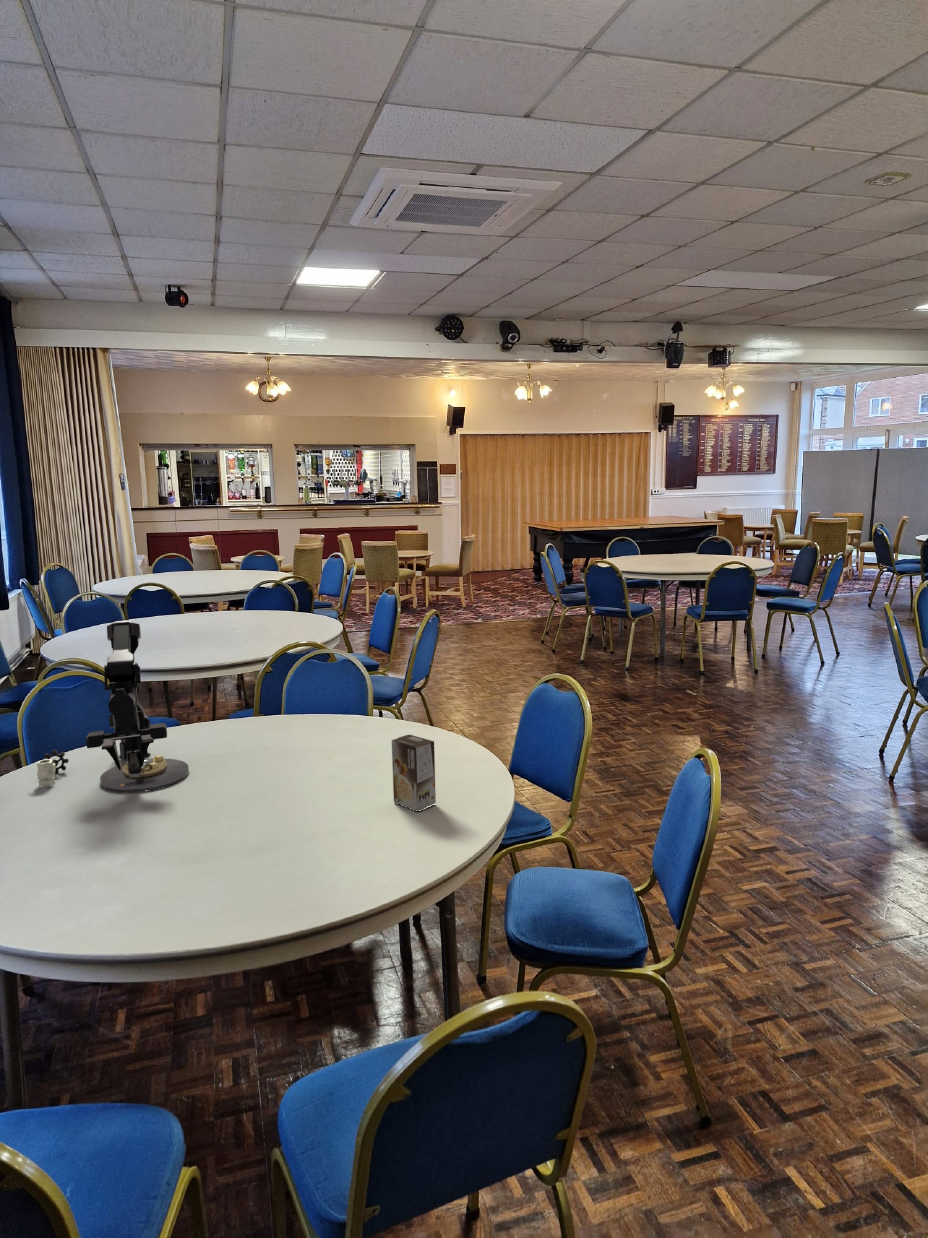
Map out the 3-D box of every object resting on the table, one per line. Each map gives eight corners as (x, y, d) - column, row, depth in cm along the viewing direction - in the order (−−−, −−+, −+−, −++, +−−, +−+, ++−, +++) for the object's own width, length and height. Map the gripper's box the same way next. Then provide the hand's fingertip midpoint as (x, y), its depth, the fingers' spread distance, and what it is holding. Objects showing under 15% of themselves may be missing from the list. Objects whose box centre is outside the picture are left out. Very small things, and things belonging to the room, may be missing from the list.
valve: (59, 787, 204) (69, 771, 216) (56, 762, 203) (67, 748, 215) (31, 789, 203) (43, 774, 214) (28, 765, 202) (41, 750, 213)
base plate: (162, 758, 226) (161, 752, 225) (204, 774, 212) (204, 768, 211) (85, 779, 209) (84, 773, 209) (126, 799, 195) (125, 792, 195)
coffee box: (437, 805, 189) (436, 741, 186) (418, 813, 184) (416, 747, 182) (411, 795, 195) (409, 733, 192) (392, 803, 190) (390, 739, 188)
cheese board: (171, 762, 216) (168, 733, 215) (156, 783, 200) (154, 752, 199) (129, 765, 215) (126, 735, 213) (111, 786, 199) (109, 754, 198)
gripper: (164, 697, 209) (169, 754, 211) (87, 706, 202) (93, 764, 204) (163, 706, 198) (169, 765, 200) (82, 716, 192) (89, 777, 194)
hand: (131, 767), depth 200 cm, fingers open, 5 cm apart
